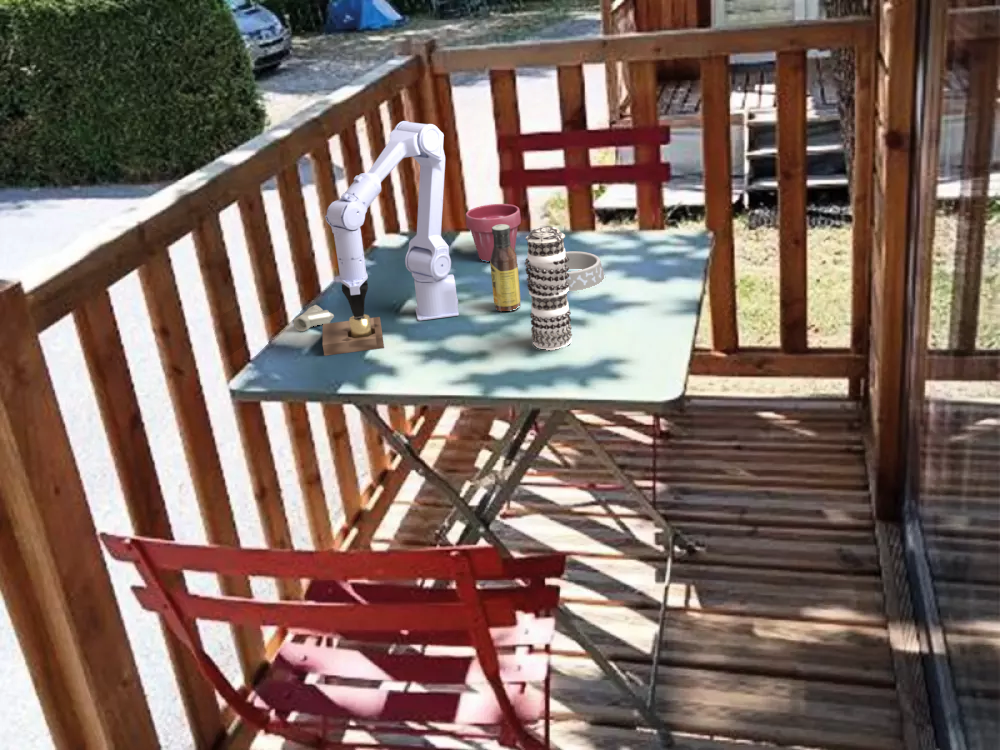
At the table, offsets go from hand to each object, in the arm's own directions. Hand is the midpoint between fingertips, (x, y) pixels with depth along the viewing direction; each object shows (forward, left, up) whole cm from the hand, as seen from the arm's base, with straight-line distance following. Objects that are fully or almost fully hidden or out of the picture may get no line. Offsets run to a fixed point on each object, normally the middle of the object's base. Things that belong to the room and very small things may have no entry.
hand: (358, 315), depth 248 cm
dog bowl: (-51, -24, -7) cm, 57 cm away
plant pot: (-37, -49, -7) cm, 62 cm away
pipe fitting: (+10, -15, -7) cm, 19 cm away
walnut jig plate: (+2, -2, -6) cm, 7 cm away
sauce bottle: (-34, -10, -7) cm, 36 cm away
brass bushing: (0, 0, -7) cm, 7 cm away
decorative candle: (-40, +14, -7) cm, 43 cm away
